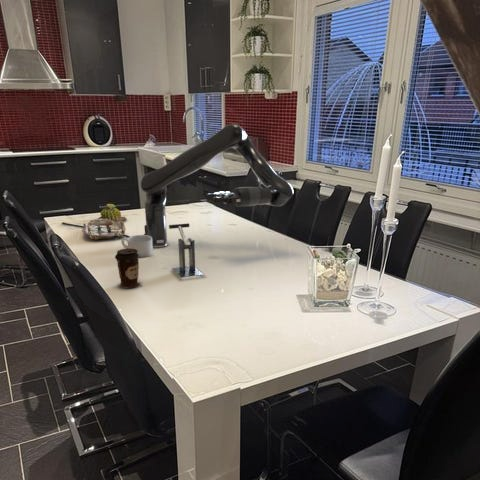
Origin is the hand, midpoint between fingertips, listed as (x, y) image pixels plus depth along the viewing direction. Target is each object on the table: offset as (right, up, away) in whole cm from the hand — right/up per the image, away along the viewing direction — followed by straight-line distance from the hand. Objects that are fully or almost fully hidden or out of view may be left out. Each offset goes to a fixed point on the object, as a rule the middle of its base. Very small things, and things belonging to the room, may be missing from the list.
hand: (209, 198), depth 184 cm
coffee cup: (-28, -36, -14) cm, 47 cm away
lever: (-10, -16, -3) cm, 19 cm away
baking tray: (-57, -5, +54) cm, 79 cm away
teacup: (-33, -20, +21) cm, 44 cm away
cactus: (-61, +9, +84) cm, 104 cm away
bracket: (-9, -30, -1) cm, 31 cm away
